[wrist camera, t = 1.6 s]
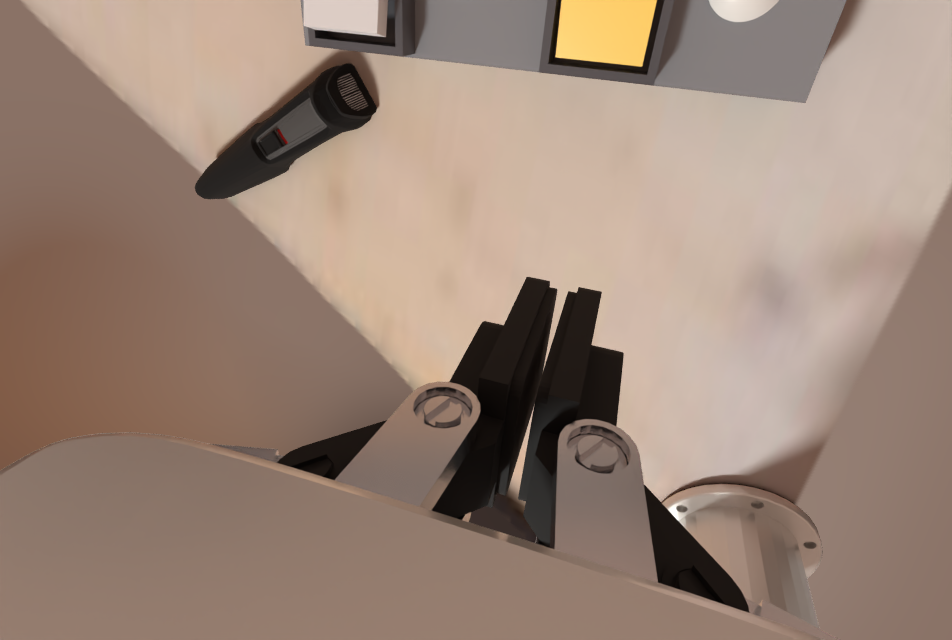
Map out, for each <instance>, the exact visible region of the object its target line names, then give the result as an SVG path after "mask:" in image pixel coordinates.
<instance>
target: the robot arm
mask: <svg viewBox="0 0 952 640" xmlns="http://www.w3.org/2000/svg"><path fill="white" fill-rule="evenodd" d="M549 286H550V281H546V280H541V279H536V278H531V277H527V278H526V280H525V282H524V284H523V286H522V288H521V290H520V293H519V295H518V297H517V299H516V301H515V303H514V305H513V307H512V309H511V311H510V314H509V316H508V318H507V320H506V322H505V324H504V325H499V324H495V323H491V322H486V321H484V322H482V324H481V325H480V327H479V329H478V331H477V332H476V334H475V336H474V338H473V340H472V342H471V343H470V345H469V347H468V349H467V351H466V352H465V354H464V356H463V358H462V360H461V362H460V363H459V365H458V367H457V369H456V371H455V373H454V374H453V376H452V378H451V380H450V382H434V383H429V384H426V385H423V386H421V387H419V388H417V389H416V390H415V391H414V392H412V393H411V394H410V395H409V396H408V397H407V399H406V400H405V401H404V402H403V403H402V404H401V405H400V406H399V408H398V409H397V410H396V411H395V412H394V413H393V415H392V416H391V417H390V418H389V419H388V420H386V421H383V422H380V423H376V424H373V425H370V426H367V427H364V428H361V429H357V430H354V431H351V432H347V433H344V434H341V435H338V436H335V437H331V438H328V439H325V440H322V441H318V442H315V443H312V444H309V445H306V446H302V447H300V448H298V449H295V450H293V451H291V452H289V453H288V454H286V455H285V456H281V455H279V453H278V450H277V449H267V448H254V447H242V446H229V445H217V444H207V443H203V442H198V441H194V440H190V439H184V438H179V437H173V436H167V435H159V434H144V433H130V432H129V433H102V434H93V435H85V436H79V437H74V438H69V439H65V440H62V441H59V442H55V443H52V444H49V445H47V446H45V447H43V448H41V449H38V450H36V451H34V452H32V453H30V454H28V455H26V456H25V457H23V458H21V459H19V460H17V461H16V462H14V463H12V464H10V465H9V466H7V467H5V468H4V469H2V470H0V640H840V639H838V638H836V637H834V636H832V635H830V634H828V633H826V632H825V631H823V630H821V629H820V628H819V624H818V621H817V617H816V613H815V608H814V605H813V601H812V597H811V593H810V589H809V585H808V581H807V578H808V577H809V576H810V575H811V574H812V573H813V572H814V571H815V570H816V569H817V567H818V565H819V564H820V562H821V558H822V552H823V551H822V544H821V540H820V537H819V534H818V531H817V528H816V526H815V525H814V523H813V522H812V520H811V519H810V517H809V516H808V515H807V514H805V513H804V512H803V511H802V510H801V509H800V508H799V507H797V506H796V505H794V504H793V503H791V502H790V501H788V500H787V499H784V498H782V497H780V496H778V495H776V494H773V493H771V492H768V491H764V490H761V489H758V488H754V487H748V486H743V485H735V484H711V485H702V486H698V487H693V488H689V489H686V490H683V491H681V492H678V493H676V494H674V495H673V496H671V497H669V498H668V499H666V500H665V501H664V502H663V503H661V502H660V501H659V500H658V499H657V498H656V497H655V496H654V494H653V493H652V492H651V491H650V490H649V489H648V488H647V487H646V486H645V485H644V483H643V476H642V469H641V462H640V455H639V452H638V449H637V446H636V444H635V443H634V442H633V440H632V439H631V438H630V436H629V435H627V434H626V433H625V432H624V431H622V430H621V429H620V428H618V427H616V424H617V414H618V404H619V395H620V385H621V375H622V365H623V352H619V351H615V350H610V349H606V348H601V347H597V346H593V345H591V344H592V339H593V334H594V329H595V324H596V319H597V314H598V309H599V303H600V298H601V293H602V292H600V291H595V290H590V289H585V288H580V287H579V288H578V292H577V293H575V292H570V291H568V294H567V297H566V300H565V304H564V307H563V310H562V313H561V316H560V320H559V323H558V326H557V329H556V333H555V336H554V339H553V342H552V345H551V349H550V352H549V355H548V358H547V361H546V365H545V368H544V362H545V357H546V351H547V346H548V340H549V334H550V329H551V323H552V318H553V312H554V306H555V301H556V295H557V289H555V288H550V287H549ZM543 368H544V371H543ZM542 373H543V374H542ZM534 404H535V405H534ZM533 407H534V411H533V417H532V422H531V428H530V434H529V440H528V445H527V451H526V457H525V462H524V468H523V474H522V479H521V485H520V491H519V497H518V499H519V500H523V501H526V505H525V510H524V515H523V516H524V518H525V519H526V521H527V522H528V524H529V525H530V527H531V528H532V530H533V531H534V533H535V534H536V535H537V538H536V543H533V542H529V541H526V540H523V539H520V538H517V537H514V536H510V535H507V534H504V533H501V532H498V531H494V530H491V529H488V528H485V527H482V526H478V525H476V524H472V523H469V519H470V516H471V512H472V511H475V510H477V509H480V508H482V507H484V506H488V507H491V508H492V507H493V504H494V501H495V498H496V495H497V493H499V494H503V495H506V494H507V491H508V488H509V485H510V481H511V478H512V475H513V472H514V469H515V465H516V462H517V459H518V456H519V452H520V449H521V446H522V443H523V439H524V436H525V433H526V430H527V426H528V423H529V420H530V417H531V413H532V410H533Z"/></svg>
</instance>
